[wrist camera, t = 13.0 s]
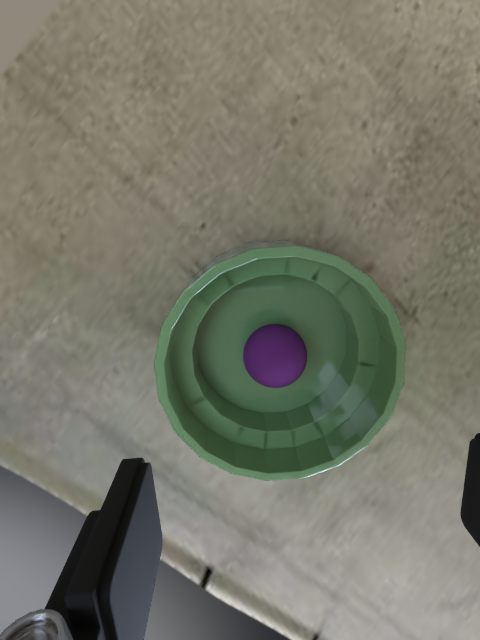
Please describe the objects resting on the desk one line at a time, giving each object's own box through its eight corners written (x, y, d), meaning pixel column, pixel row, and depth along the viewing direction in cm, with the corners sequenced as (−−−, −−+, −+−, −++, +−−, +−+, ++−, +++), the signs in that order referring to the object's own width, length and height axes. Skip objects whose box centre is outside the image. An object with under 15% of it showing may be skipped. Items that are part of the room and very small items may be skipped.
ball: (244, 373, 28) (246, 402, 24) (240, 318, 27) (241, 338, 23) (301, 369, 28) (313, 397, 24) (300, 314, 27) (313, 333, 23)
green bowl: (181, 436, 30) (170, 488, 25) (158, 247, 26) (138, 256, 21) (367, 423, 31) (399, 471, 25) (373, 233, 26) (413, 237, 21)
